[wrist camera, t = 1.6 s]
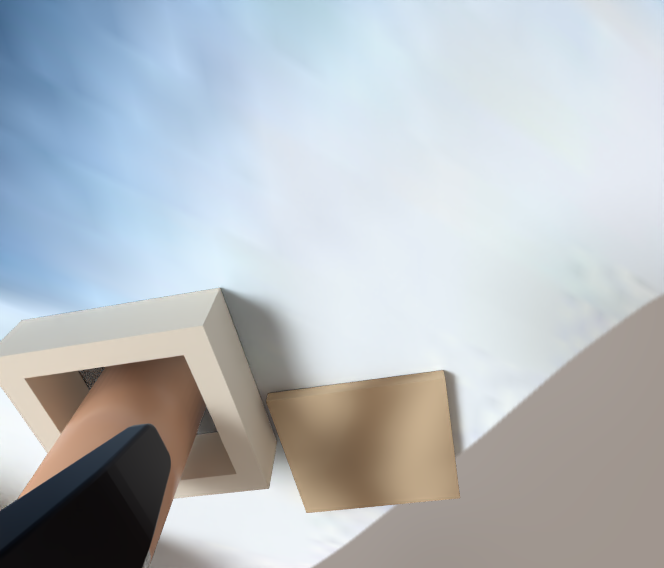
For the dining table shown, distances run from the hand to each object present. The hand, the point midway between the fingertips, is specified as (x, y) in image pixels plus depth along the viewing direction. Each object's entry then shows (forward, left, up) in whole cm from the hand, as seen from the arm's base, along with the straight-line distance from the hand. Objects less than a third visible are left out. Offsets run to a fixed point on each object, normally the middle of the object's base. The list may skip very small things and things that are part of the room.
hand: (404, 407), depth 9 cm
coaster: (+3, +15, -13) cm, 20 cm away
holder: (+13, +9, -13) cm, 20 cm away
